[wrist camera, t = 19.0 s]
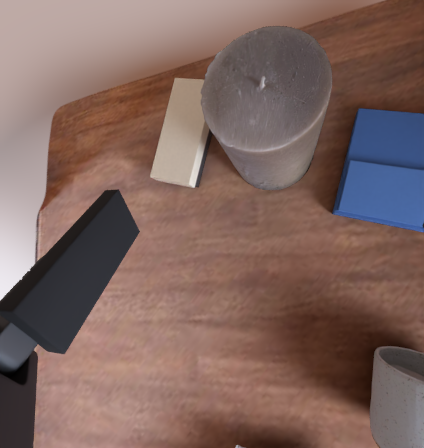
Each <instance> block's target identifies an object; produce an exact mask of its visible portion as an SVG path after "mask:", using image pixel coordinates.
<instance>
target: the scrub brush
mask: <svg viewBox="0 0 424 448" xmlns="http://www.w3.org/2000/svg"><path fill="white" fill-rule="evenodd" d="M203 84H204V80H201V79H185V78H175V80H174V84H173V88H172V91H171V95H170V99H169V103H168V107H167V111H166V115H165V119H164V123H163V127H162V131H161V135H160V139H159V143H158V147H157V151H156V154H155V158H154V162H153V166H152V170H151V174H150V177H151V178H153V179H155V180H157V181H162V182H167V183H171V184H176V185H181V186H186V187H191V188H195V187H199V183H200V179H201V175H202V171H203V167H204V163H205V159H206V155H207V151H208V147H209V143H210V139H211V135H212V132H211V130H210V128H209V127H208V125H207V123H206V121H205V120H204V114H203V111H202V106H201V99H202V94H201V93H200V92H201V89H202V87H203Z"/></svg>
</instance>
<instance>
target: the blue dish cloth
mask: <svg viewBox="0 0 424 448" xmlns="http://www.w3.org/2000/svg"><path fill="white" fill-rule="evenodd" d="M332 214H334V215H339V216H344V217H349V218H354V219H359V220H364V221H369V222H374V223H379V224H384V225H389V226H394V227H399V228H404V229H409V230H414V231H419V232H424V228H423V226H422V225H423V223H424V114H422V113H410V112H398V111H386V110H374V109H362V108H359V109H358V111H357V113H356V117H355V121H354V125H353V129H352V133H351V138H350V142H349V146H348V150H347V154H346V158H345V163H344V167H343V171H342V175H341V179H340V183H339V188H338V192H337V196H336V200H335V204H334V208H333V212H332Z"/></svg>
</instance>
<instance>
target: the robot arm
mask: <svg viewBox="0 0 424 448" xmlns="http://www.w3.org/2000/svg"><path fill="white" fill-rule="evenodd" d="M422 226H423V228H424V223H423V225H422ZM139 232H140V231H139V229H138V227H137V225H136V223H135V221H134V219H133V217H132V215H131V213H130V211H129V209H128V207H127V205H126V203H125V201H124V199H123V197H122V195H121V193H120V191H119V189H118V190H105V191H104V193H103V194H102V195H101V196H100V197H99V198H98V199H97V200H96V201H95V202H94V203H93V204H92V205H91V206H90V208H89V209H88V210H87V211H86V212H85V213H84V214H83V215H82V216H81V217H80V218H79V219H78V220H77V221H76V223H75V224H74V225H73V226H72V227H71V228H70V229H69V230H68V231H67V232H66V233H65V234H64V235H63V236H62V237H61V239H60V240H59V241H58V242H57V243H56V244H55V245H54V246H53V247H52V248H51V249H50V250H49V251H48V252H47V254H46V255H44V256H43V257H42V258H40V259H39V260H38V261H37V262H36V263H35V265H34V266H33V267H32V268H31V269H30V271H28V272H27V273H26V274H25V275H24V276H23V278H22V280H20V281H19V282H18V283H17V284H16V285H15V286H14V287H13V288H12V289H11V290H10V291H9V292H8V293H7V294H6V295H5V297H4V298H3V299H2V300H1V301H0V448H33V441H34V422H35V402H36V383H37V363H38V356H37V353H36V352H35V351H34V348H35V347H36V346H37V344H39V345H40V346H41V347H43V348H44V349H45V350H46V351H48V352H54V353H60V354H65V352H66V351H67V349H68V348H69V346H70V344H71V343H72V341H73V339H74V338H75V336H76V335H77V333H78V331H79V330H80V328H81V326H82V325H83V323H84V322H85V320H86V318H87V317H88V315H89V313H90V312H91V310H92V309H93V307H94V305H95V304H96V302H97V300H98V299H99V297H100V296H101V294H102V292H103V291H104V289H105V287H106V286H107V284H108V283H109V281H110V279H111V278H112V276H113V274H114V273H115V271H116V270H117V268H118V266H119V265H120V263H121V261H122V260H123V258H124V257H125V255H126V253H127V252H128V250H129V248H130V247H131V245H132V244H133V242H134V240H135V239H136V237H137V235H138V234H139Z"/></svg>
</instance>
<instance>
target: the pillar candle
mask: <svg viewBox="0 0 424 448" xmlns="http://www.w3.org/2000/svg"><path fill="white" fill-rule="evenodd" d="M331 89H332V69H331V65H330V62H329V60H328V57H327V55H326V52H325V51H324V49H323V48H322V47H321V46H320V45H319V43H318V42H317V41H316V40H315V39H314V38H313V37H312V36H311V35H309V34H307V33H305V32H303V31H301V30H298V29H295V28H292V27H287V26H270V27H263V28H260V29H257V30H254V31H251V32H249V33H246V34H245V35H242V36H241V37H239V38H237V39H236V40H234V41H233V42H231V43H230V44H229V45H228V46H227V47H226V48H224V49H223V50H222V51H220V52H218V53H217V54H216V56H215V59H214V61H212V62H211V63H210V65H209V67H208V69H207V73H206V74H205V80H204V84H203V87H202V89H201V92H200V93H201V94H202V99H201V106H202V111H203V114H204V120H205V121H206V123H207V125H208V127H209V128H210V130H211V132H212V133H213V134H214V136H215V137H216V139H217V140H218V141H219V143H220V144H221V146H222V148H223V149H224V151H225V152H226V154H227V155H228V157H229V159H230V160H231V162H232V163H233V165H234V166H235V168H236V169H237V171H238V172H239V174H240V175H241V176H242V178H243V179H245V180H246V181H247V182H248V183H249V184H251V185H253V186H254V187H256V188H260V189H264V190H277V189H279V190H280V189H283V188H286V187H289V186H291V185H293V184H294V183H296V182H297V181H299V180H300V179H301V178H302V177H303V176H304V175H305V173H306V172H307V171H308V169H309V167H310V165H311V161H312V160H313V156H314V151H315V149H316V144H317V141H318V138H319V135H320V132H321V128H322V125H323V122H324V117H325V114H326V111H327V107H328V103H329V99H330V94H331Z"/></svg>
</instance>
